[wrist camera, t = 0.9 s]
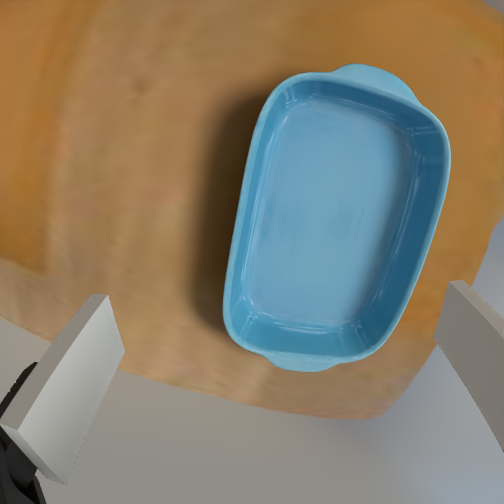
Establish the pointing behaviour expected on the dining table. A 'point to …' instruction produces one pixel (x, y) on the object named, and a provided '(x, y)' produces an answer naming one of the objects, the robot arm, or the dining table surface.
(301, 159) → the casserole dish
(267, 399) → the dining table surface
